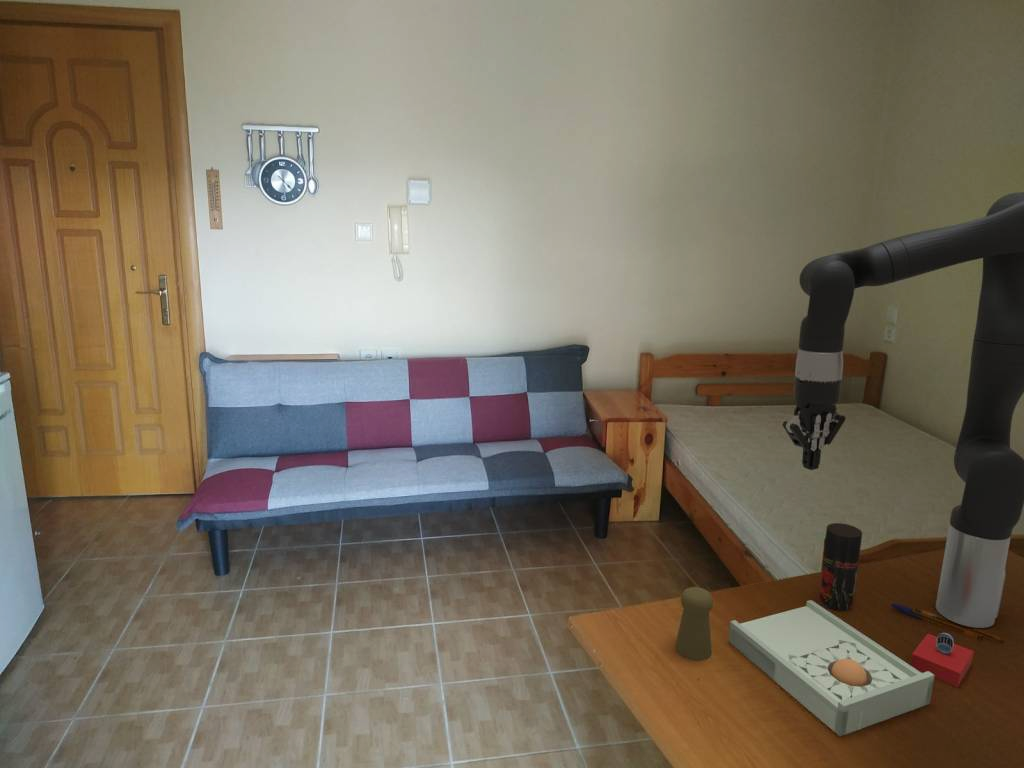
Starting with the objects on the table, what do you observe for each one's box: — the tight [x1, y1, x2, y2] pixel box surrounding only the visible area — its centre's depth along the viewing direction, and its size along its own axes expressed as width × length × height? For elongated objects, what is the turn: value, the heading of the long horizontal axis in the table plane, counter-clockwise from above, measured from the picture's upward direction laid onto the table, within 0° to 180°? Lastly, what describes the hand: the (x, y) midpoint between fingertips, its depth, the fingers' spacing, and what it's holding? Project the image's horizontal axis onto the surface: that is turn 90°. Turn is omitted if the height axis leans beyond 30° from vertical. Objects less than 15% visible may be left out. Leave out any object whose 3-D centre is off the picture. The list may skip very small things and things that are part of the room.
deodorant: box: [817, 522, 863, 612], centre depth 130 cm, size 6×6×15 cm
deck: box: [728, 599, 935, 737], centre depth 112 cm, size 18×24×5 cm
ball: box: [831, 659, 867, 687], centre depth 107 cm, size 5×5×5 cm
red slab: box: [909, 632, 975, 688], centre depth 113 cm, size 8×7×6 cm
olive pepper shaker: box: [674, 586, 714, 662], centre depth 116 cm, size 6×6×11 cm
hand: (810, 468), depth 125 cm, fingers closed
